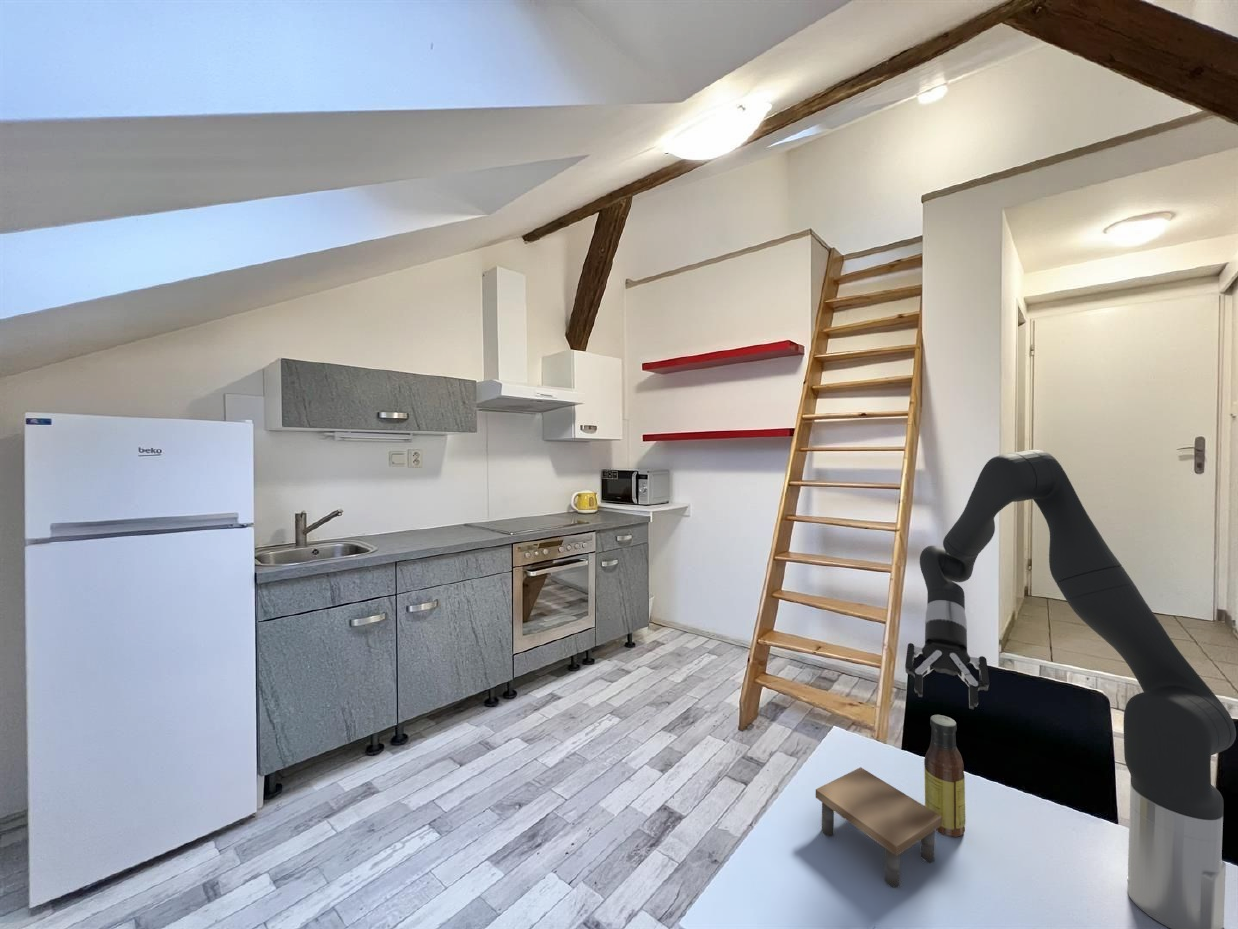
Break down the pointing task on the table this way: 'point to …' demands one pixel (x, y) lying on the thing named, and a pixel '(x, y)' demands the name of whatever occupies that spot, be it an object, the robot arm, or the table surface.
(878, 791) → the peg shelf
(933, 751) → the sauce bottle
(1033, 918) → the table surface
